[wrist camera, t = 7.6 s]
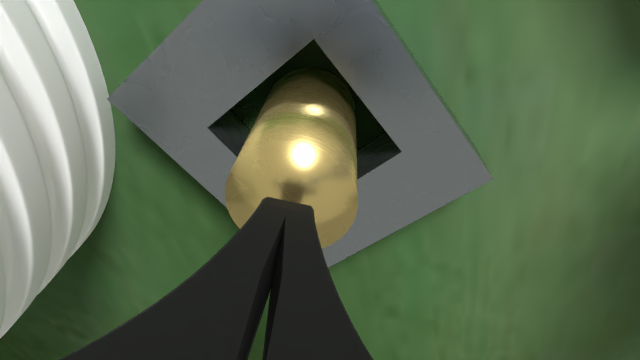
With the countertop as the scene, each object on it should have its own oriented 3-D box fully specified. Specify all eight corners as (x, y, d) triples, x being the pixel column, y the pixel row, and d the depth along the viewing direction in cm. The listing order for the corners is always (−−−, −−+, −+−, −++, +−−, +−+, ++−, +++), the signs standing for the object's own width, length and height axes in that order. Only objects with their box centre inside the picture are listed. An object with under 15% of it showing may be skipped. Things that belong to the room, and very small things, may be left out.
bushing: (374, 105, 17) (386, 195, 12) (319, 166, 19) (306, 271, 13) (300, 48, 16) (271, 115, 10) (250, 118, 18) (201, 209, 12)
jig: (477, 149, 18) (493, 179, 16) (310, 245, 22) (305, 279, 20) (309, -97, 14) (302, -102, 12) (136, 78, 17) (106, 98, 15)
